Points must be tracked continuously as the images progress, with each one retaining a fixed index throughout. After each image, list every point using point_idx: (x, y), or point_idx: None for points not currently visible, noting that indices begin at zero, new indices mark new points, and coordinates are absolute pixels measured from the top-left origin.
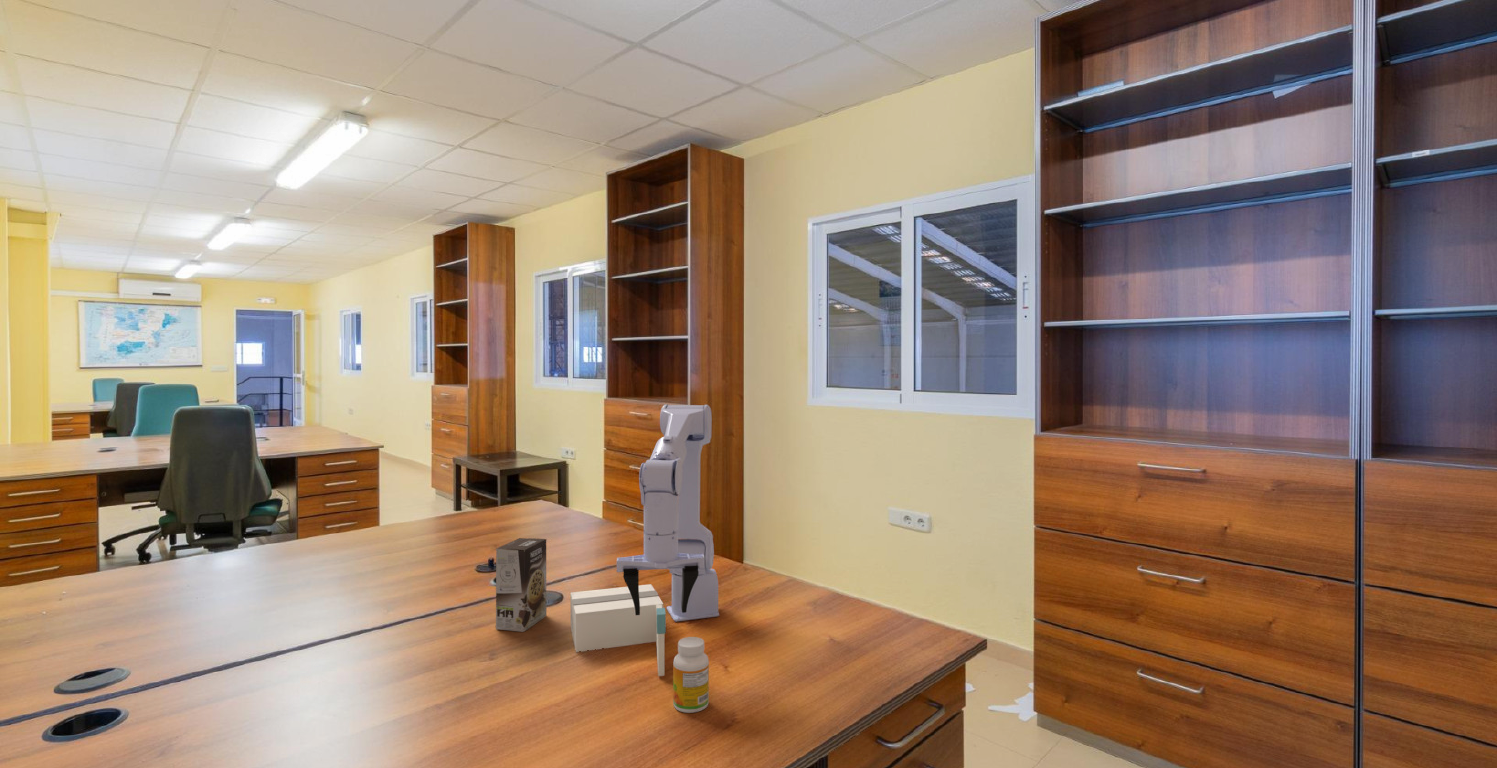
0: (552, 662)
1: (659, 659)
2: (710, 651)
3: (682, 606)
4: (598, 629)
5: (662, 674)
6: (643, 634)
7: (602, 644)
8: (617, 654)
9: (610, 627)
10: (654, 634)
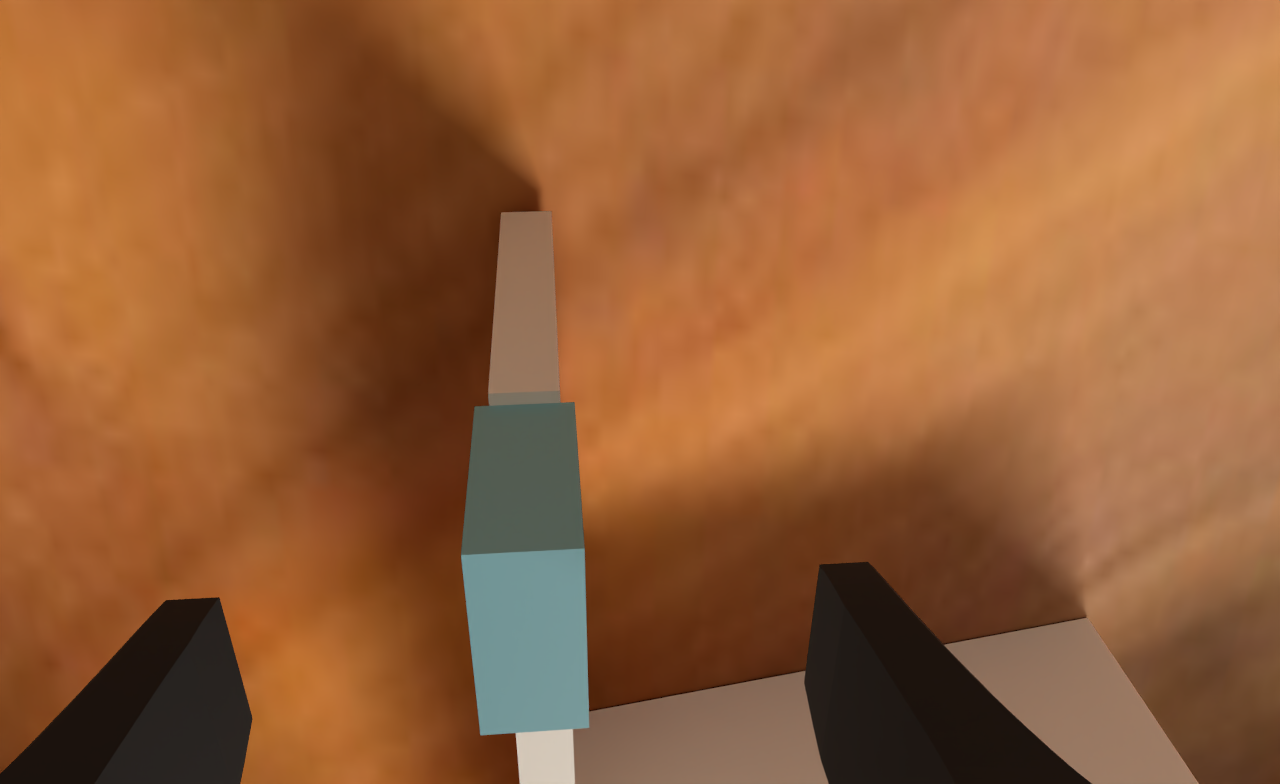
0: (1251, 508)
1: (543, 267)
2: (165, 574)
3: (179, 652)
4: None
5: (517, 217)
6: (661, 748)
7: None
8: None
9: None
10: (584, 754)
